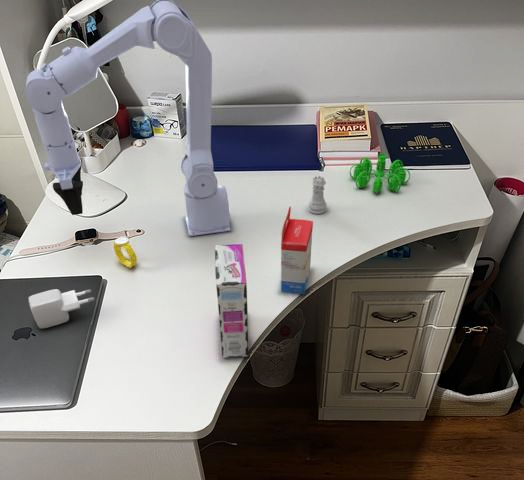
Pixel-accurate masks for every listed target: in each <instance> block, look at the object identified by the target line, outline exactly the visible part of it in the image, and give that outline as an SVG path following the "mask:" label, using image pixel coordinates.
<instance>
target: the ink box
mask: <svg viewBox="0 0 524 480" xmlns="http://www.w3.org/2000/svg"><path fill="white" fill-rule="evenodd" d="M291 210H292V206H291V205H289V207H288V210H287V213H286V216H285V219H284V221H283V225H282V228H281V240H280V241H281V242H280V245H281V246H280V249H281V250H280V255H281V256H280V292H281V293H285V294H286V293H288V294H296V295H305V294H306V290H307V287H308V286H307V285H308V282H309V276H310V273H311V260H312V244H313V228H314V227H313V226H314V221H313V220H308V219H297V218H291V212H292V211H291Z"/></svg>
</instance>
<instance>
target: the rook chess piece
mask: <svg viewBox="0 0 524 480" xmlns="http://www.w3.org/2000/svg"><path fill="white" fill-rule="evenodd" d="M326 183H327V182H326V181H325V177H324V176H321V175H318V176H316V175H315V176H314V177H313V179H312V181H311V185H312V189H311V190H312V193H311V194H312V195H311V198H310V200H309V201H308V204H307V210H308V211H309V212H310V213H311V214H313V215H322V214H324V213H325V212H326V210H327V202H326V200H325V197H324V190H325V185H326Z"/></svg>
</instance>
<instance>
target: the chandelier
mask: <svg viewBox="0 0 524 480" xmlns="http://www.w3.org/2000/svg"><path fill="white" fill-rule="evenodd" d="M387 158H388V155H387V154H385V153H378V154H377V162H376V168H375V169H376V170H375V169H373V165H372V161H371V158H369V157H367V156H363V157H361V158H360V160H359V163H354V164H353V165H352V166H351V167H350V169H349V176H350V178H351V179H353V180H354V181H355V186H356V188H358V189H364V188H366V187H367V186H368V184H369V182H370V181H371V179H372V178H374V177H375V178H374V181H373V183H372V184H373V185H372V191H373V192H375V194H378V193H380V192H381V191H382V189H383V179H382V178H384V179H385V180H387V187H388V189H389V190H390V191H391V192H392V193H396V192H398V191H399V190H400V189H401V187H402V185H406V184H407V183H408V182H409V181H410V179H411V172H410V170H409V169H408V168H406V167H404V163H403V161H402V160H400V159H396V160H394V161H393V162H392V163H391V164H390V166H389V168H388V170H386V171H385V169H386V164H387V162H386V161H387ZM353 168H354V169H353ZM352 169H353V175H352V172H351V171H352ZM372 171H373V172H372ZM407 173H408V179H407V180H406V177H407ZM371 175H372V176H371ZM386 176H388V177H386Z"/></svg>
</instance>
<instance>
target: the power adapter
mask: <svg viewBox="0 0 524 480" xmlns="http://www.w3.org/2000/svg"><path fill="white" fill-rule="evenodd" d="M92 292H93V291H92V289H89V288H88V289H85V290H82V291H78V292H76V290H75V289H71V290H69V291H65V292H61V290H60V289H58V288H54V289H49V290H46V291H42V292H37V293H35V294H32V295H30V296H28V305H29V308H30V311H31V314H32V316H33V318H34V321H35V323H36V325H37V328H39V329H48V328H51V327H55V326H58V325H61V324H65V323H67V322H69V321H70V314H69V312H72V311H75V310H79V309H81V305H83V304H85V303H90V302H94V301H95V297H93V296H91V297H87V298H85V299H81V300H79V299H78V297H80V296H81V297H82V296H84V295H88V294H92Z"/></svg>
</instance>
